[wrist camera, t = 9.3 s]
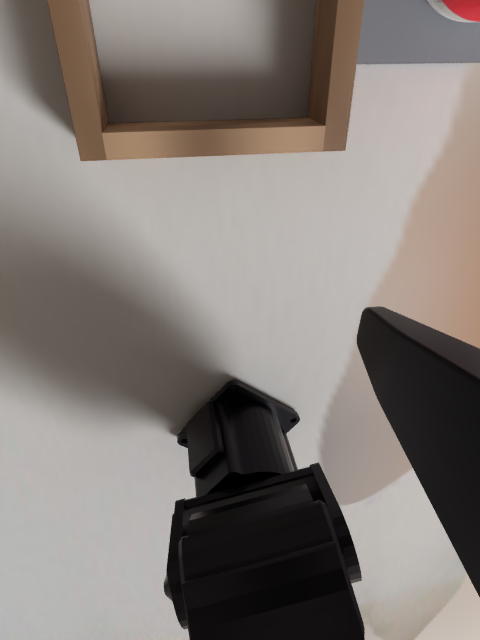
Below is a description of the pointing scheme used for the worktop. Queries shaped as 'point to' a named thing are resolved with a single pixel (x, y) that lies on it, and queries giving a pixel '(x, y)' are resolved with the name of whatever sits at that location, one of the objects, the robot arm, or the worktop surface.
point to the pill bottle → (458, 9)
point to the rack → (215, 135)
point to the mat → (414, 35)
